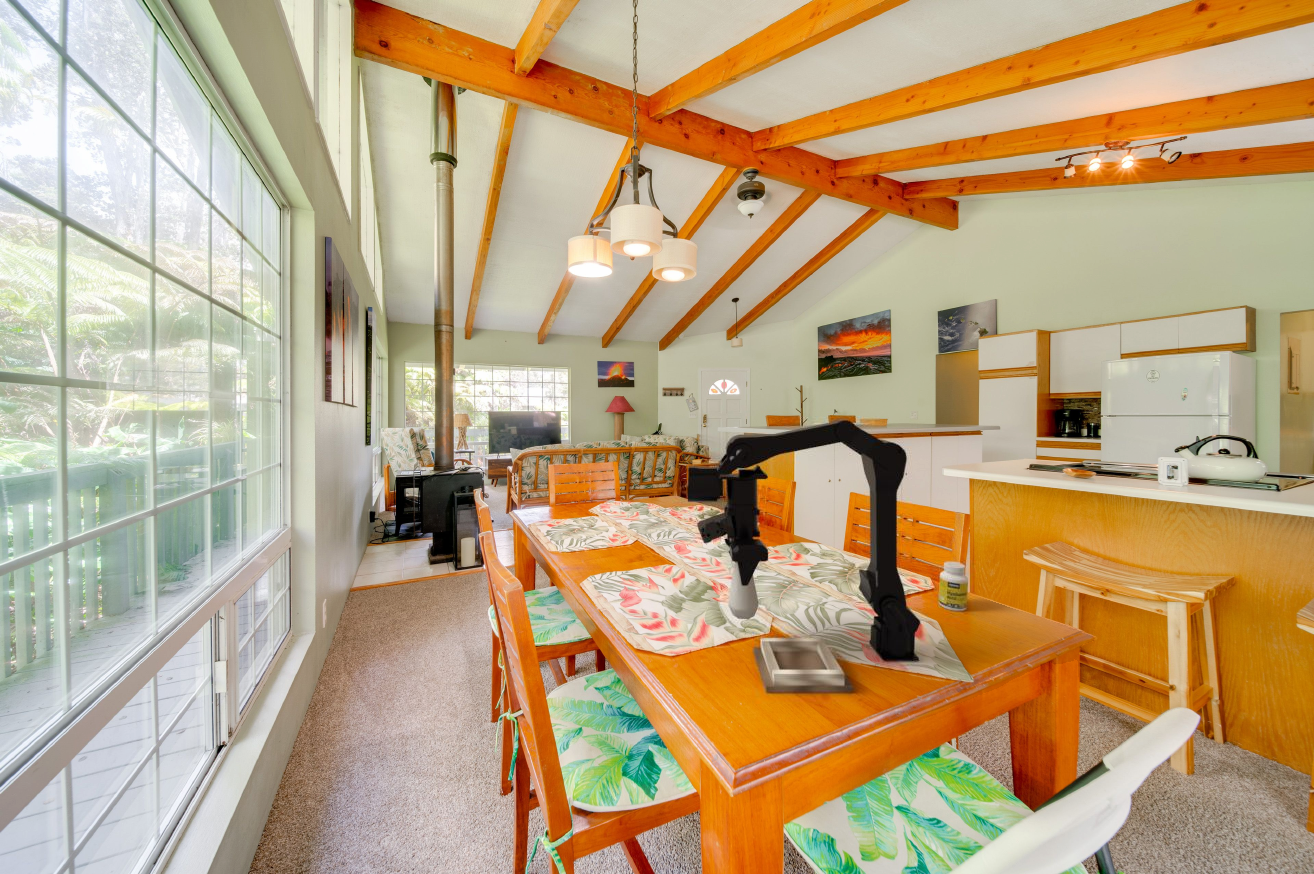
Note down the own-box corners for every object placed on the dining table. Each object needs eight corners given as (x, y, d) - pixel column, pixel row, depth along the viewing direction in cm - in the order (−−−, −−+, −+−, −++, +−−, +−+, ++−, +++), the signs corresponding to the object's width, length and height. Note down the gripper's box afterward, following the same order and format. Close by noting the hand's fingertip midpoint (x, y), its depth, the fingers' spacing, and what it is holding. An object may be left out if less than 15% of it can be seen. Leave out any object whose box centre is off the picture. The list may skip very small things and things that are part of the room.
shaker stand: (828, 652, 88) (828, 636, 88) (853, 692, 76) (853, 674, 76) (753, 652, 89) (753, 636, 88) (766, 692, 77) (766, 674, 77)
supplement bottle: (944, 611, 104) (946, 568, 103) (934, 600, 109) (936, 559, 108) (971, 612, 103) (973, 569, 102) (959, 601, 108) (961, 560, 108)
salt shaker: (758, 622, 88) (758, 554, 86) (727, 620, 89) (726, 553, 87) (758, 608, 93) (757, 544, 92) (729, 606, 94) (728, 543, 93)
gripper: (696, 492, 99) (698, 564, 100) (702, 515, 80) (704, 603, 81) (750, 491, 98) (751, 564, 100) (768, 513, 80) (769, 602, 81)
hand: (743, 581), depth 90 cm, fingers closed on salt shaker, 3 cm apart
